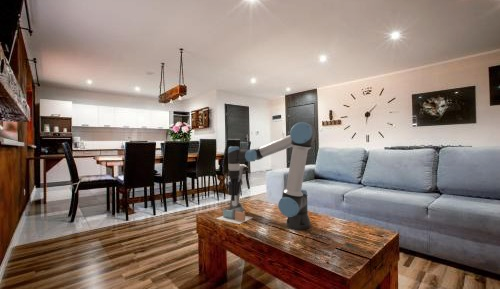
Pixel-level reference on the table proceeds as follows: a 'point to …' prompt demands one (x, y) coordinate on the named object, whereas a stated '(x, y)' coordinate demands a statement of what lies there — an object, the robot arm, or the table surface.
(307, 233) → the table surface
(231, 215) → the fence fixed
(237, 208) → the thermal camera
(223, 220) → the card
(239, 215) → the fence panel
